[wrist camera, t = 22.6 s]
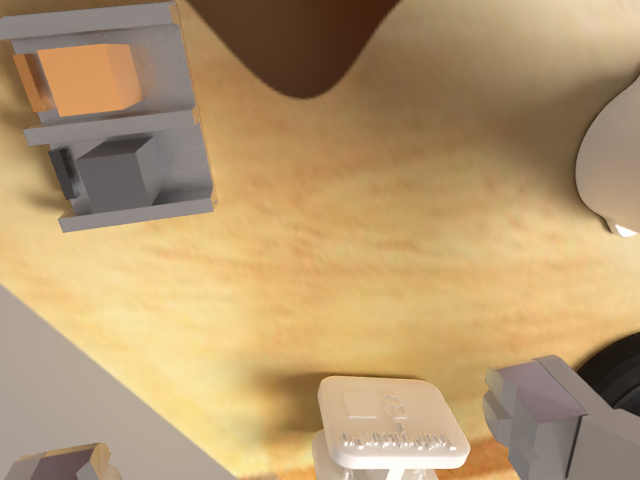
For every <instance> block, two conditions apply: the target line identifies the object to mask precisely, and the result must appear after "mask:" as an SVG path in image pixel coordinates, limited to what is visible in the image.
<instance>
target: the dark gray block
mask: <svg viewBox="0 0 640 480" xmlns="http://www.w3.org/2000/svg"><path fill="white" fill-rule="evenodd" d="M75 161H76V163H77V166H78V169H79V172H80V175H81V178H82V181H83V183H84V186H85V189H86V192H87V195H88V198H89V201H90V204H91V206H92V209H93V212H94V214H98V213H105V212H113V211H120V210H127V209H135V208H142V207H149V206H151V205H152V203H153V201H154V200H155V198H156V197H157V195H158V194H159V192H160V190H161V189H162V187H163V186H164V184H165V180H164V177H163V173H162V169H161V165H160V161H159V157H158V154H157V150H156V146H155V142H154V138H153V137H145V138H136V139H128V140H119V141H111V142H103V143H101V144H100V145H98V146H97V147H95V148H93V149H92V150H90V151H89V152H87V153H86V154H84V155H82V156H81V157H79V158H78V159H76V160H75Z"/></svg>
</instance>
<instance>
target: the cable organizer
mask: <svg viewBox="0 0 640 480" xmlns="http://www.w3.org/2000/svg"><path fill="white" fill-rule="evenodd" d="M318 401H319V406H320V411H321V416H322V421H323V426H324V429H321V430H319V431H317V432H316V433H315V435H314V438H313V442H312V453H313V459H314V465H315V472H316V478H317V480H438V478H437V475H436V473H435V471H434V469H453V468H458V467H460V466H462V465H463V464H464V462H465V460H466V458H467V456H468V454H469V452H470V444H469V442H468V440H467V439H466V437H465V435H464V433H463V431H462V430H461V428H460V426H459V424H458V423H457V421H456V419H455V417H454V415H453V414H452V412H451V410H450V408H449V406H448V405H447V403H446V401H445V399H444V397H443V396H442V394H441V392H440V390H439V389H438V388H437V387H436V386H434V385H433V384H431V383H429V382H426V381H423V380H416V379H395V378H374V377H353V376H330V377H327V378H325V379H323V380H322V381H321V383H320V387H319V391H318Z"/></svg>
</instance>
